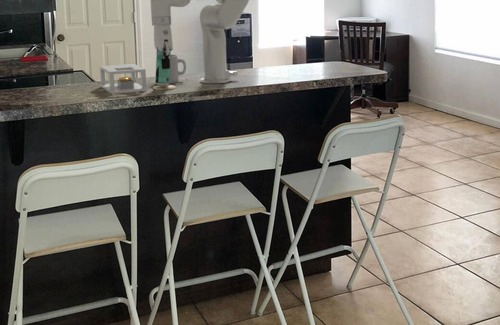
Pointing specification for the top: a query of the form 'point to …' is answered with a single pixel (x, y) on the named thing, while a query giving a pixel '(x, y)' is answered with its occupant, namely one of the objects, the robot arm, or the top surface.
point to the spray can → (161, 70)
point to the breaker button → (125, 79)
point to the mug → (175, 68)
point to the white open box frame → (123, 85)
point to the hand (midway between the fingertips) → (163, 67)
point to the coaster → (164, 87)
